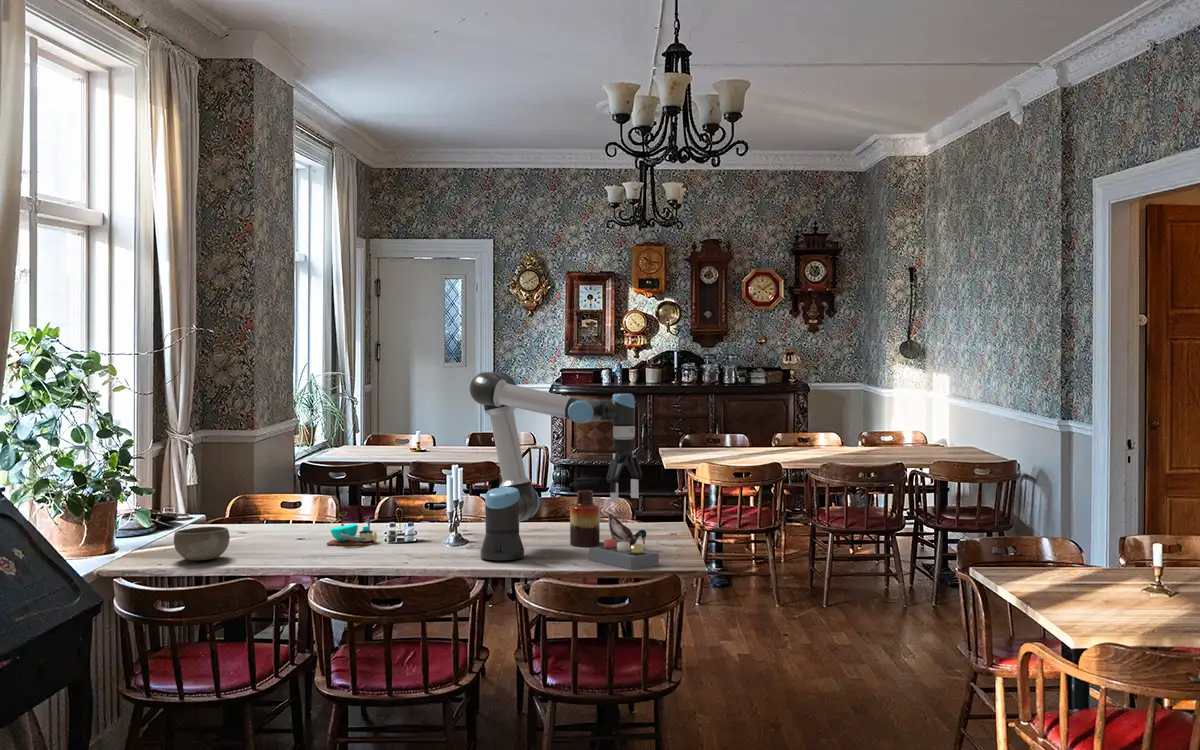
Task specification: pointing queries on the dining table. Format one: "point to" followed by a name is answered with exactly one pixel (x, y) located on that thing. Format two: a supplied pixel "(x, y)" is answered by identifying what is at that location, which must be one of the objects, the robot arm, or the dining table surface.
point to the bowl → (201, 542)
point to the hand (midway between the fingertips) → (624, 500)
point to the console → (623, 558)
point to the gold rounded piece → (636, 550)
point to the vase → (584, 521)
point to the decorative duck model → (623, 532)
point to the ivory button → (623, 547)
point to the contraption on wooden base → (352, 534)
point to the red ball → (609, 544)
